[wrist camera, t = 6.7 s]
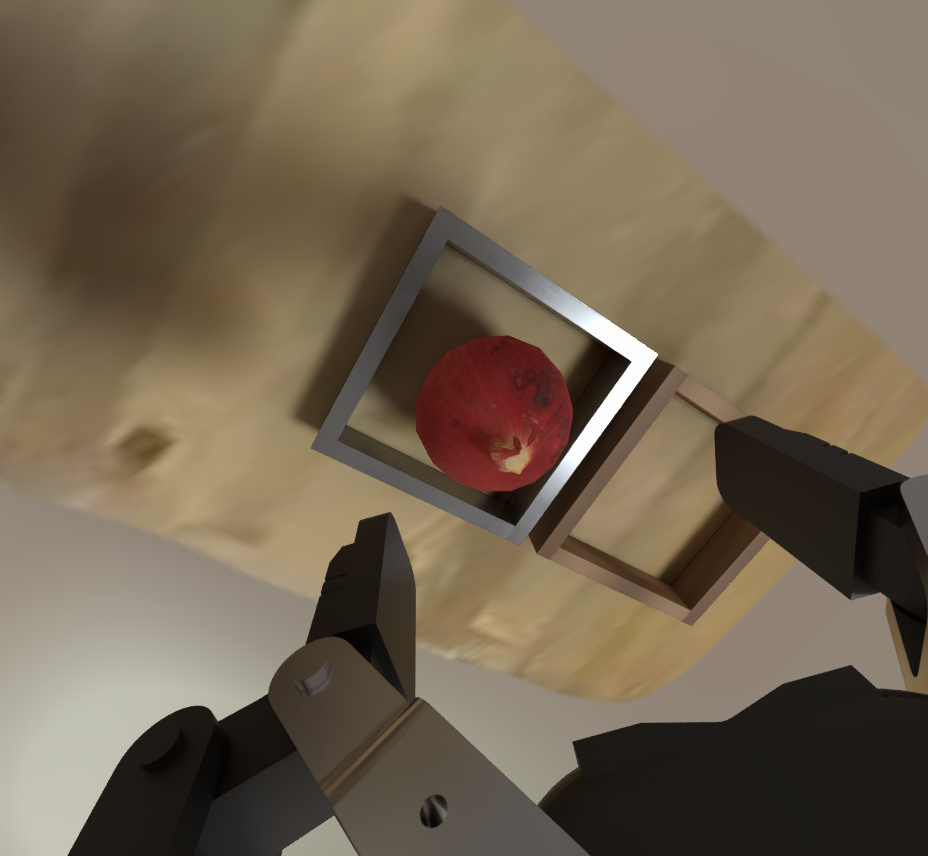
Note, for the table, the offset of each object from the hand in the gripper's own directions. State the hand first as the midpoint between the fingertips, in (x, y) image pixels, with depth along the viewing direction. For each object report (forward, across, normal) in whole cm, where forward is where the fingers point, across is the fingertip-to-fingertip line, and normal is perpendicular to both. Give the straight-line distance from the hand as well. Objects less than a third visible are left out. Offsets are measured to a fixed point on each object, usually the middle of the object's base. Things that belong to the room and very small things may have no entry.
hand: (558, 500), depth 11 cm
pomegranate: (+11, +1, 0) cm, 11 cm away
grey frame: (+10, +1, 0) cm, 10 cm away
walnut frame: (+11, -8, +8) cm, 15 cm away
